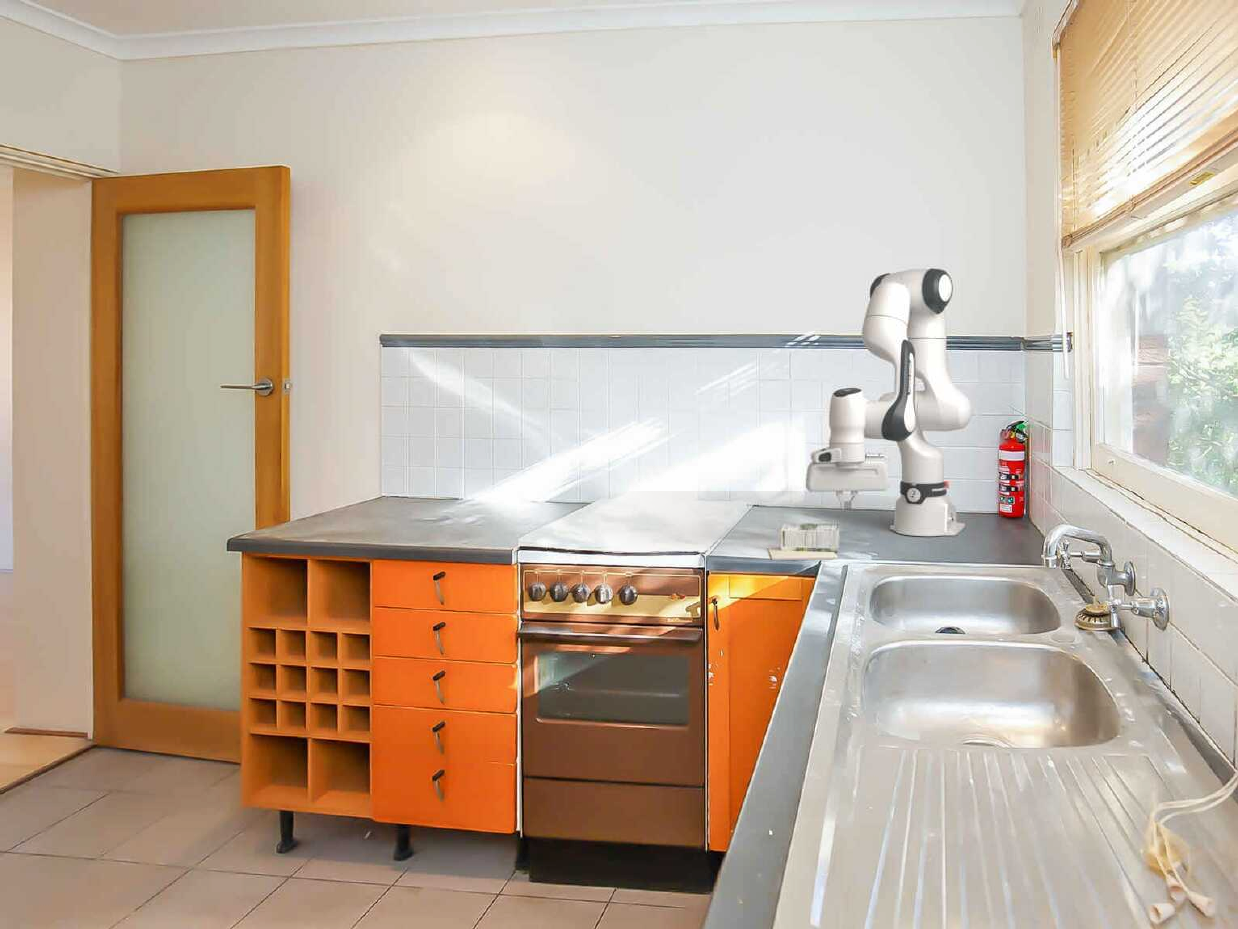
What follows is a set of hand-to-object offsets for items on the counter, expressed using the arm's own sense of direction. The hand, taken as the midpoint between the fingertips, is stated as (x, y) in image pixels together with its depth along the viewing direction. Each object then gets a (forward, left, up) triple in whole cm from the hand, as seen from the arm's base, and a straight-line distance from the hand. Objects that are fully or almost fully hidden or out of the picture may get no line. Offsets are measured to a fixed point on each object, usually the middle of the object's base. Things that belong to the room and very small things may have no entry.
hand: (847, 509), depth 265 cm
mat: (+6, -9, -11) cm, 16 cm away
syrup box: (-1, -3, -8) cm, 8 cm away
